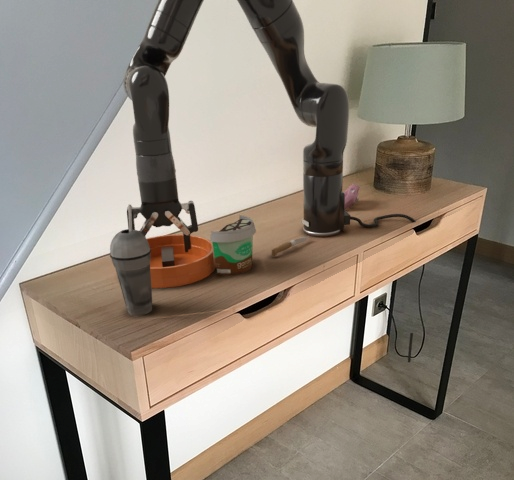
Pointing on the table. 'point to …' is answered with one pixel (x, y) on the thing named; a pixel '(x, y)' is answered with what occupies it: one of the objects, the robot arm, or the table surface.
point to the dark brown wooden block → (167, 256)
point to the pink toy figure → (351, 195)
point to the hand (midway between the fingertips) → (166, 253)
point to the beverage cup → (133, 268)
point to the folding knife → (288, 245)
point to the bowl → (180, 261)
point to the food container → (234, 247)
